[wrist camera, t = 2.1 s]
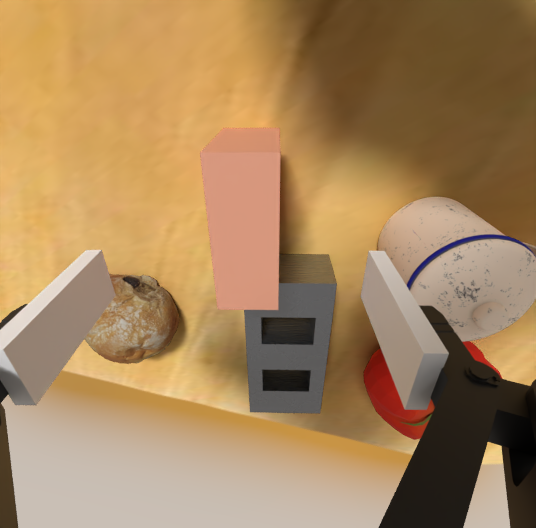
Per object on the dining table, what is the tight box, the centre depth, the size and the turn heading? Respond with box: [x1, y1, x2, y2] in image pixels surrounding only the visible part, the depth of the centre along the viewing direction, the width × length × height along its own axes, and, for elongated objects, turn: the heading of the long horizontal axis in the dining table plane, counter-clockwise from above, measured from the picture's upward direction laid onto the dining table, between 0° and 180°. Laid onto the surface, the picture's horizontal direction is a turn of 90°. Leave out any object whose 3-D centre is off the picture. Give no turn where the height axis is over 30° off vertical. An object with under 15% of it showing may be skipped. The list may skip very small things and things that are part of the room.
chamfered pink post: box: [200, 128, 280, 310], centre depth 23 cm, size 10×4×11 cm, turn 0°
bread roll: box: [84, 274, 179, 364], centre depth 34 cm, size 10×10×8 cm
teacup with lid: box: [378, 197, 536, 342], centre depth 25 cm, size 12×9×12 cm
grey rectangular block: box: [244, 254, 337, 413], centre depth 34 cm, size 18×8×5 cm, turn 0°
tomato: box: [364, 341, 502, 440], centre depth 35 cm, size 14×13×9 cm
